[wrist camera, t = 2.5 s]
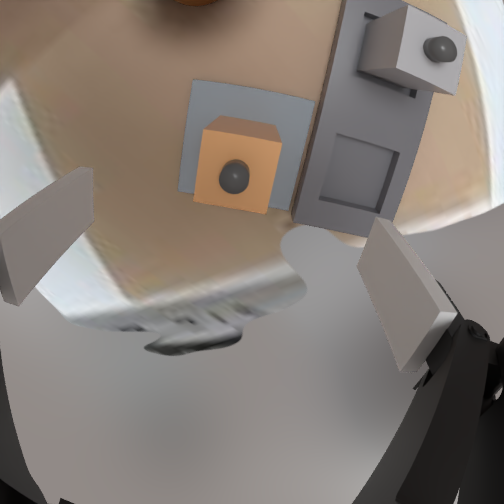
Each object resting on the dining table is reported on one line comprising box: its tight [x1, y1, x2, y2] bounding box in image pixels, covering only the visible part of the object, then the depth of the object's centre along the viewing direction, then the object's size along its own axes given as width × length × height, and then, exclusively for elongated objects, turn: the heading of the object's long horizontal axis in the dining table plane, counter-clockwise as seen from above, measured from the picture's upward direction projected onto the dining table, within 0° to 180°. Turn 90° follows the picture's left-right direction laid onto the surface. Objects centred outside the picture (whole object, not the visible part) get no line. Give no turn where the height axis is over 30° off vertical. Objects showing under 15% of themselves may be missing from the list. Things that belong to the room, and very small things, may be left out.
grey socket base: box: [291, 0, 467, 238], centre depth 21 cm, size 10×24×11 cm, turn 169°
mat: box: [178, 79, 315, 211], centre depth 28 cm, size 11×11×1 cm
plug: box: [193, 115, 282, 214], centre depth 23 cm, size 5×5×11 cm
